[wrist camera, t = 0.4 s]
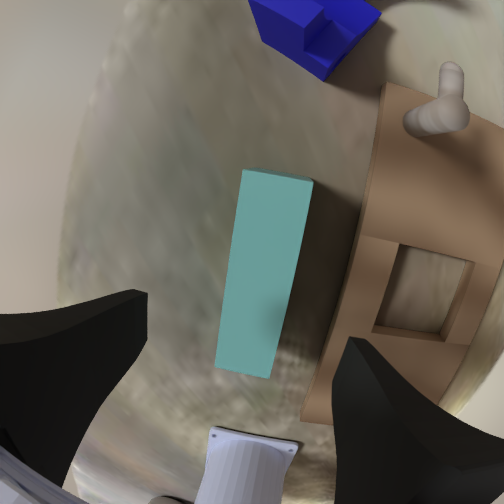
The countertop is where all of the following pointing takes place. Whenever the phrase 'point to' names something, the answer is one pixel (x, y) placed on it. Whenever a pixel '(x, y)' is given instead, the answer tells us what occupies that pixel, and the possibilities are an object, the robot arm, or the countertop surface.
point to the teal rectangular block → (261, 268)
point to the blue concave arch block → (314, 29)
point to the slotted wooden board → (421, 233)
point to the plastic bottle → (164, 501)
